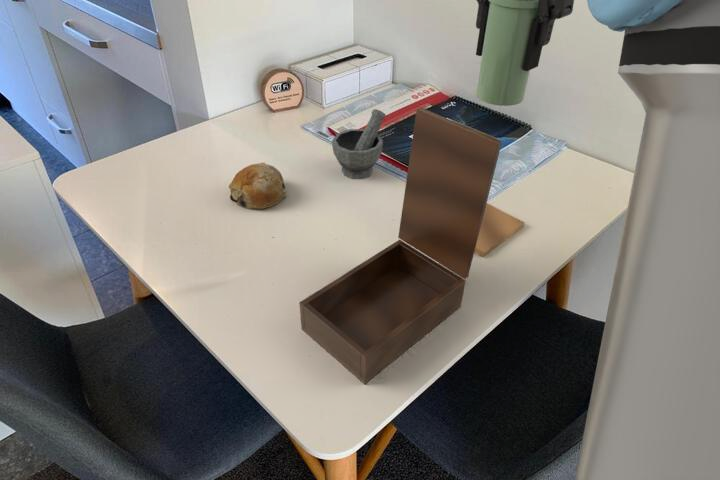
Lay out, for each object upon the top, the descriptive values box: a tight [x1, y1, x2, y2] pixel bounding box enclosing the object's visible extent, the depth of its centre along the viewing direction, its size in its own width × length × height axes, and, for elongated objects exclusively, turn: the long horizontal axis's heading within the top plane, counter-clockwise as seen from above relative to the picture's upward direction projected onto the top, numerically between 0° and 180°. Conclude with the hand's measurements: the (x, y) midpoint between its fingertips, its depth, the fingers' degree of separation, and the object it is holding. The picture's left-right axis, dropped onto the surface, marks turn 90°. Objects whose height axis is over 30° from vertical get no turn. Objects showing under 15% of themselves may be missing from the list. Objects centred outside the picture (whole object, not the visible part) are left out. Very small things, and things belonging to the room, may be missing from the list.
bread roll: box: [228, 162, 288, 210], centre depth 96 cm, size 10×10×8 cm
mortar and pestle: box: [331, 108, 387, 180], centre depth 102 cm, size 11×9×12 cm
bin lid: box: [398, 106, 503, 280], centre depth 71 cm, size 20×13×5 cm
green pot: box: [475, 0, 540, 107], centre depth 72 cm, size 8×8×14 cm
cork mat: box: [474, 203, 525, 258], centre depth 91 cm, size 12×12×1 cm
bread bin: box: [299, 239, 467, 385], centre depth 73 cm, size 20×13×5 cm, turn 134°
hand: (506, 60), depth 73 cm, fingers closed on green pot, 7 cm apart
